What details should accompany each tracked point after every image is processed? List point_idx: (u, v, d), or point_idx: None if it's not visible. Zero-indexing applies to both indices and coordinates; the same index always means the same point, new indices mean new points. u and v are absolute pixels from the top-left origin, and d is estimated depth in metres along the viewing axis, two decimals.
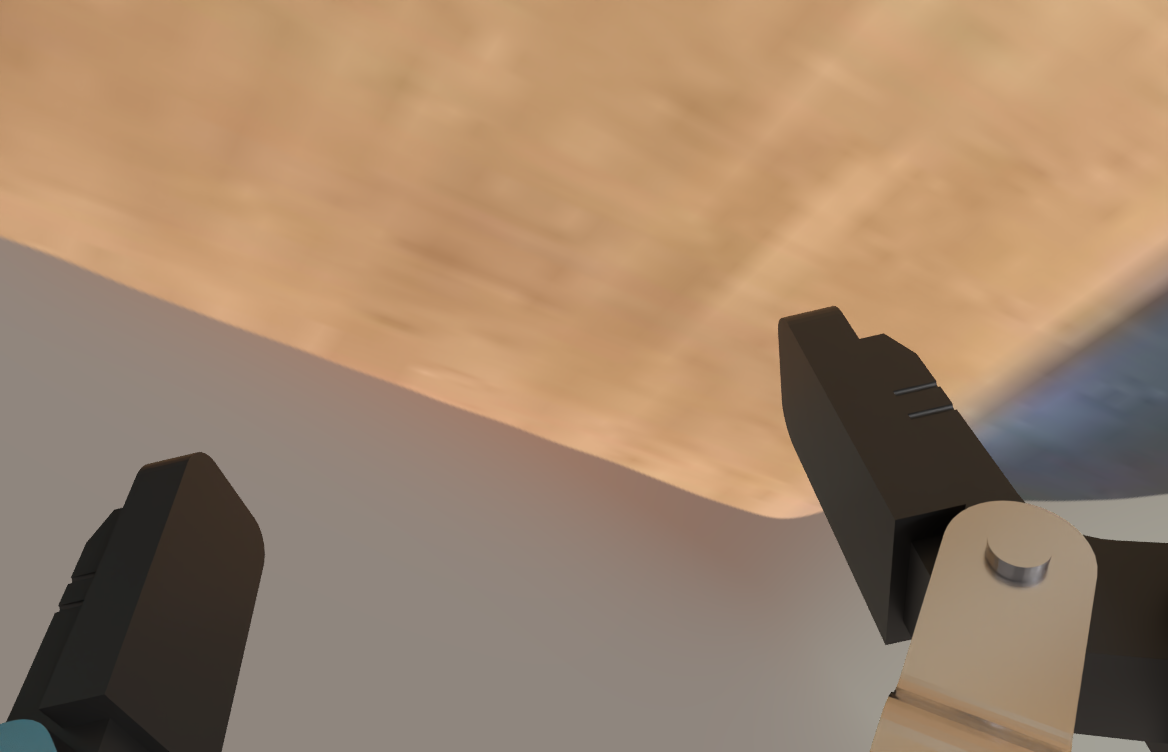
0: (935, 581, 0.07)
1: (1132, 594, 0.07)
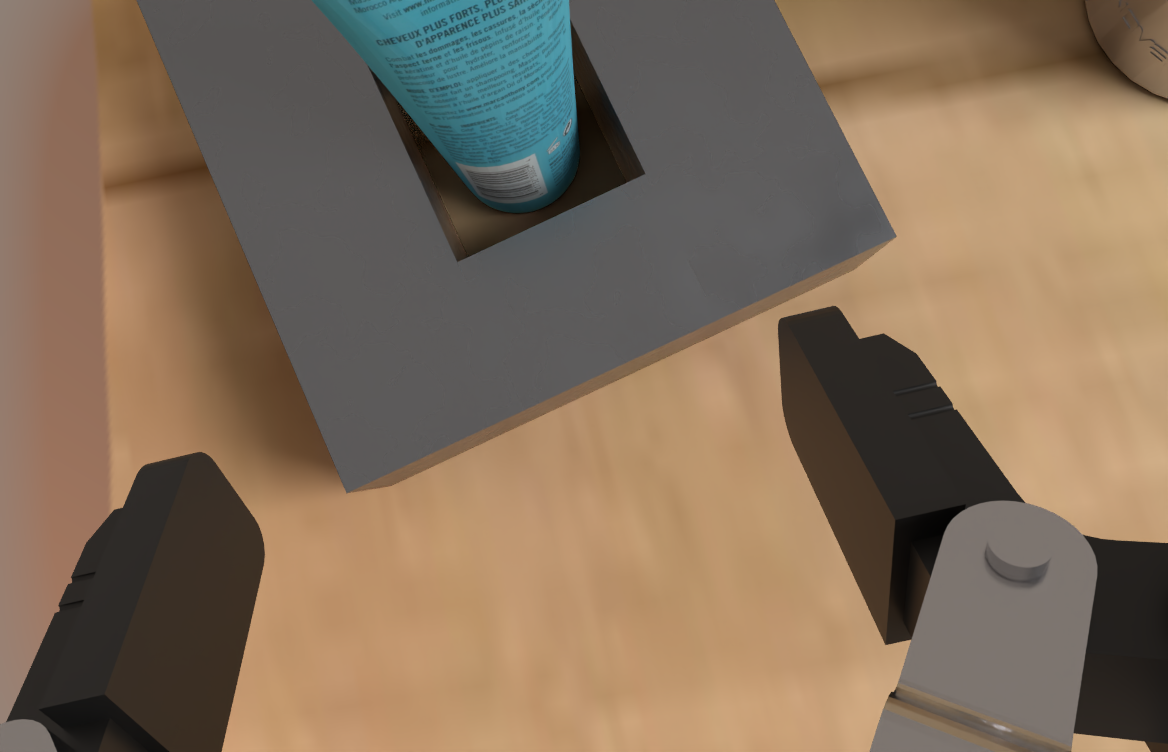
0: (935, 581, 0.07)
1: (1133, 594, 0.07)
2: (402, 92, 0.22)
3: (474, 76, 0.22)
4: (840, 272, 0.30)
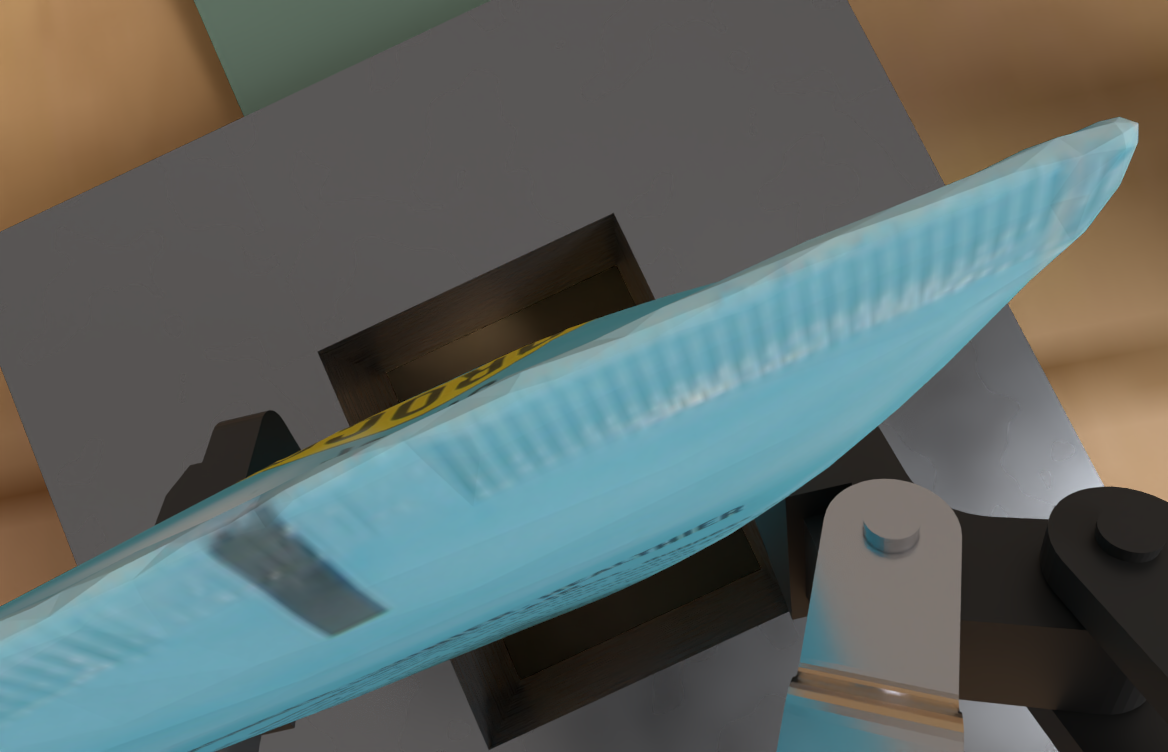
0: (821, 564, 0.07)
1: (999, 566, 0.08)
2: None
3: None
4: None
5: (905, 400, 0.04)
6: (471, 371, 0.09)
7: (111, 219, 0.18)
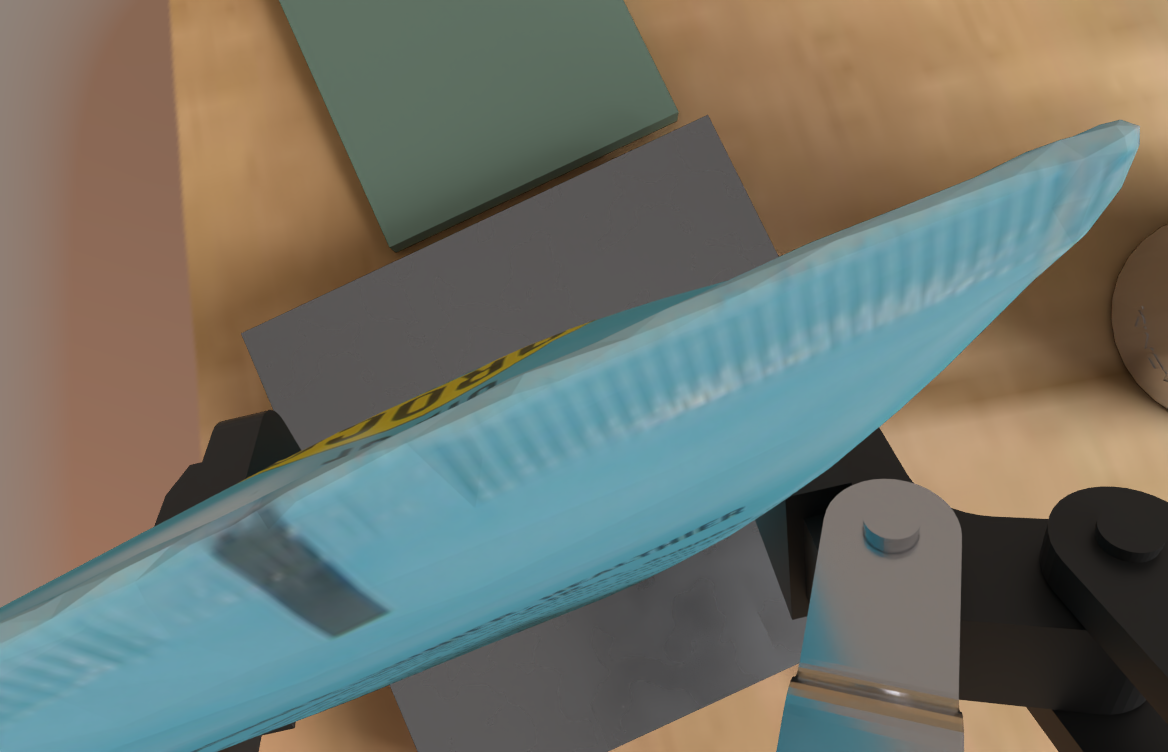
0: (821, 564, 0.07)
1: (999, 566, 0.08)
2: None
3: None
4: None
5: (906, 402, 0.04)
6: (471, 372, 0.09)
7: (330, 315, 0.32)
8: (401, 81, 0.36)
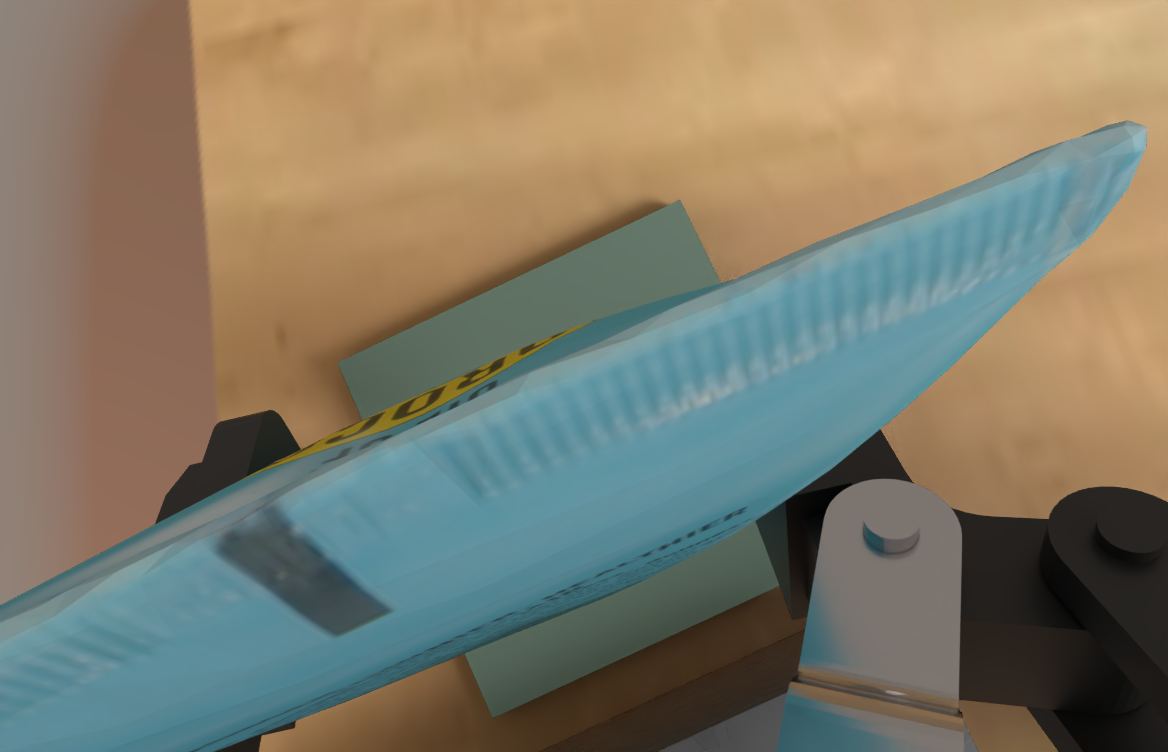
0: (821, 564, 0.07)
1: (1000, 566, 0.08)
2: None
3: None
4: None
5: (910, 402, 0.04)
6: (471, 371, 0.09)
7: None
8: None
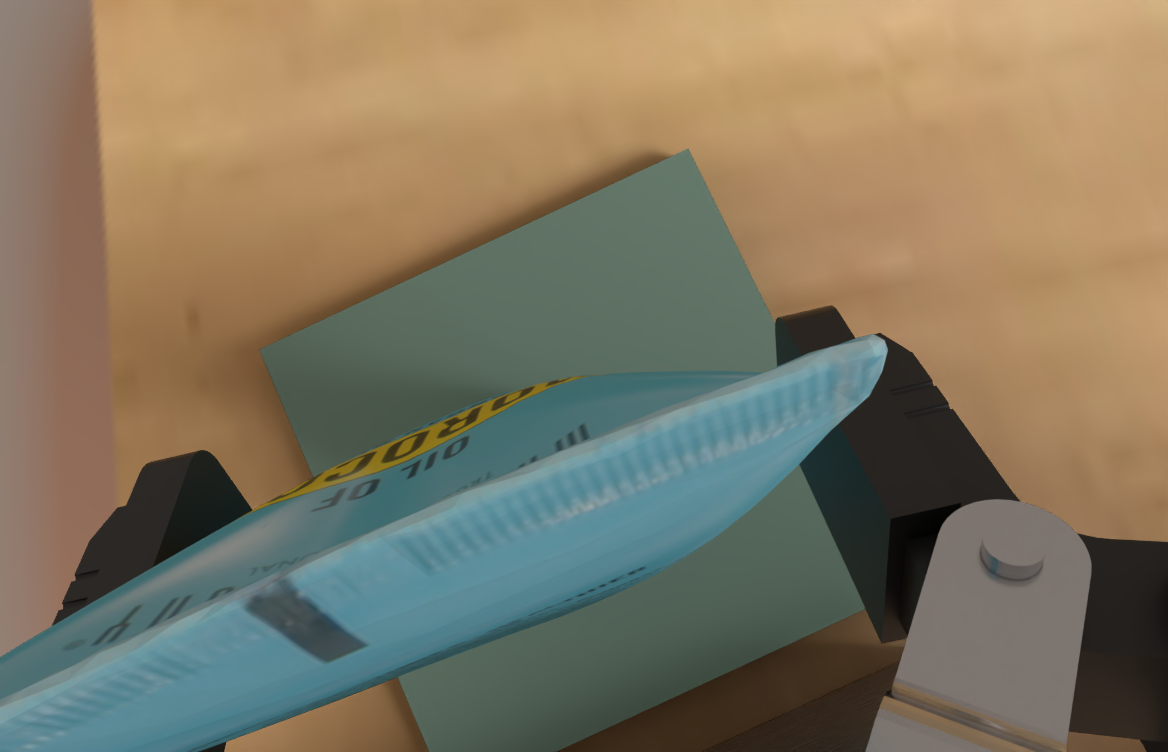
0: (930, 580, 0.07)
1: (1126, 592, 0.07)
2: None
3: None
4: None
5: (765, 494, 0.06)
6: (453, 417, 0.10)
7: None
8: None
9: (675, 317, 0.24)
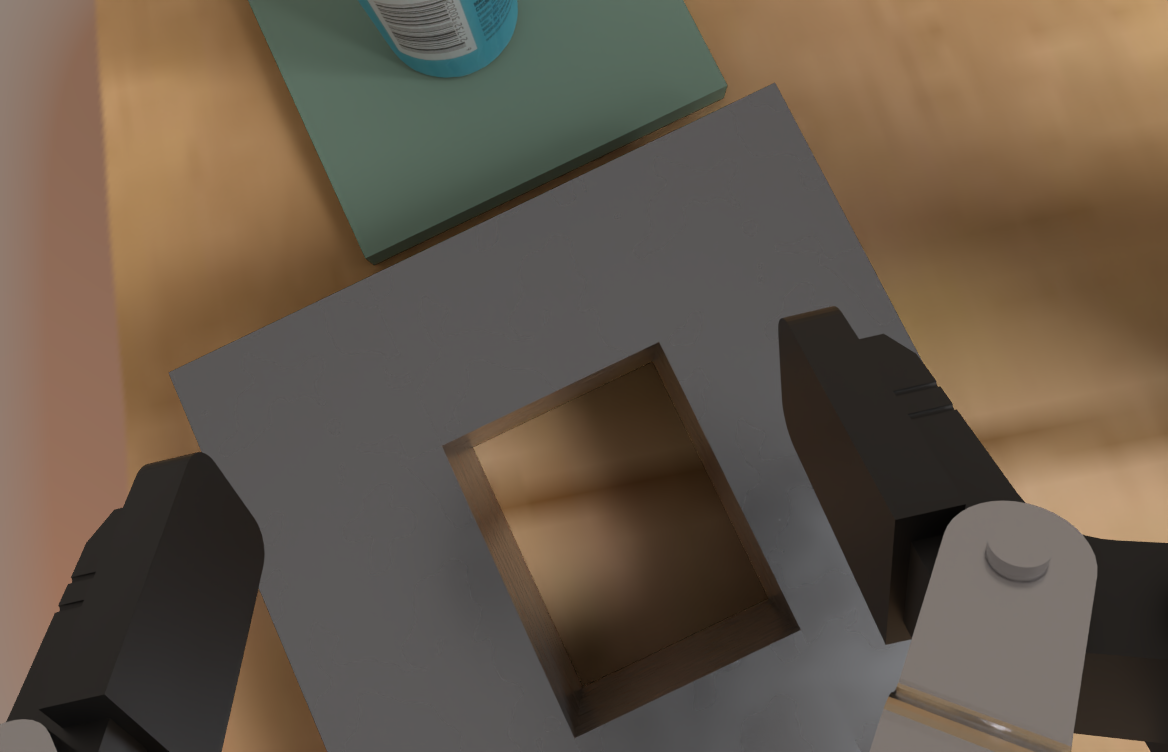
0: (935, 581, 0.07)
1: (1132, 594, 0.07)
2: None
3: None
4: None
5: None
6: None
7: (285, 347, 0.24)
8: (379, 51, 0.29)
9: None
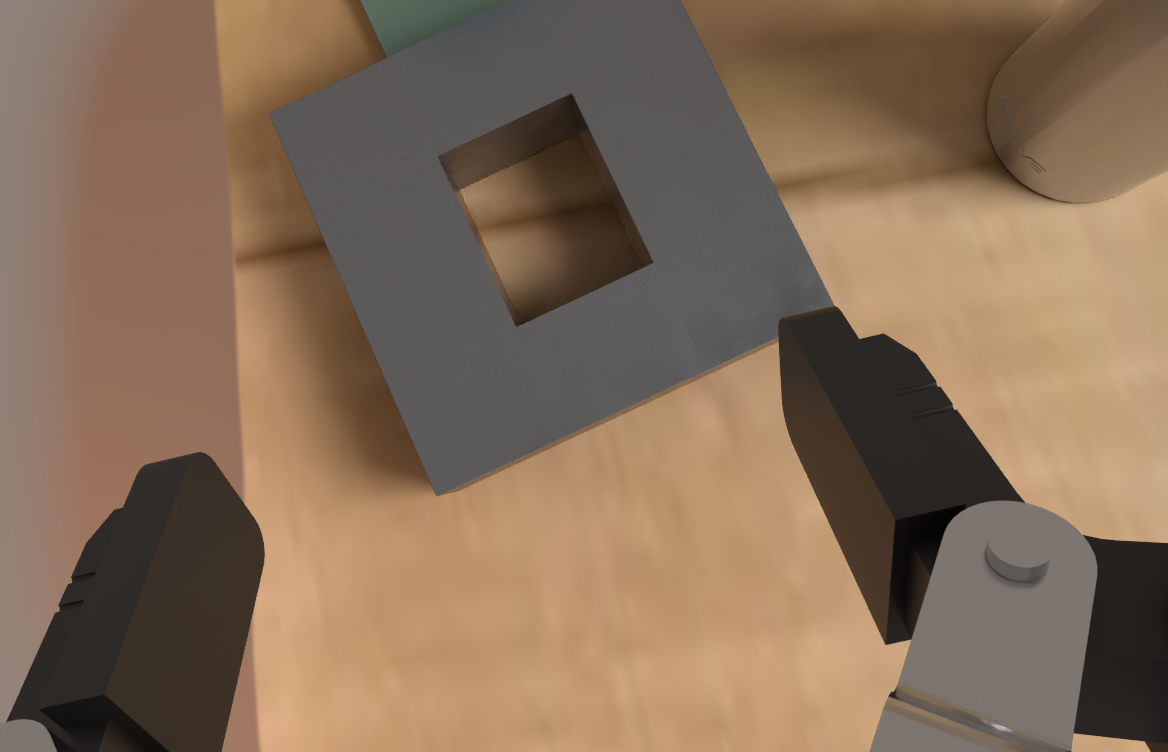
0: (935, 580, 0.07)
1: (1133, 594, 0.07)
2: None
3: None
4: None
5: None
6: None
7: (341, 98, 0.39)
8: None
9: None
